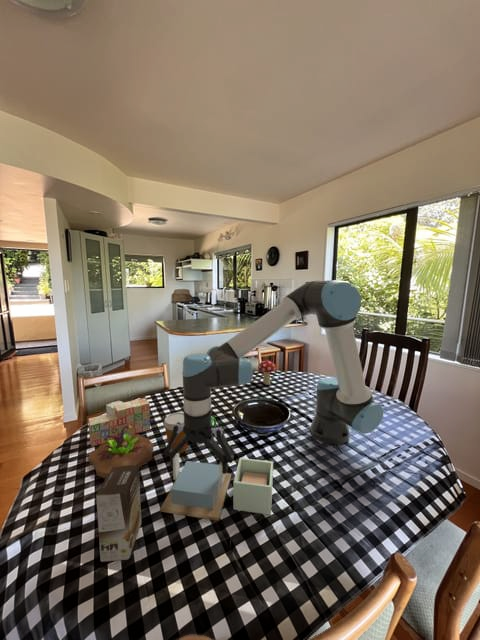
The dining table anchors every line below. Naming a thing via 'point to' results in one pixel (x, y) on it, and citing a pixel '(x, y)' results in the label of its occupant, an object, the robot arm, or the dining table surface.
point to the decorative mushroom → (266, 370)
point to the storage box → (253, 486)
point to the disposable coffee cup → (169, 424)
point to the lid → (196, 485)
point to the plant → (121, 453)
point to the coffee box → (119, 513)
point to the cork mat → (197, 511)
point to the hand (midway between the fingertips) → (198, 479)
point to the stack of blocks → (120, 421)
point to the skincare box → (112, 406)
